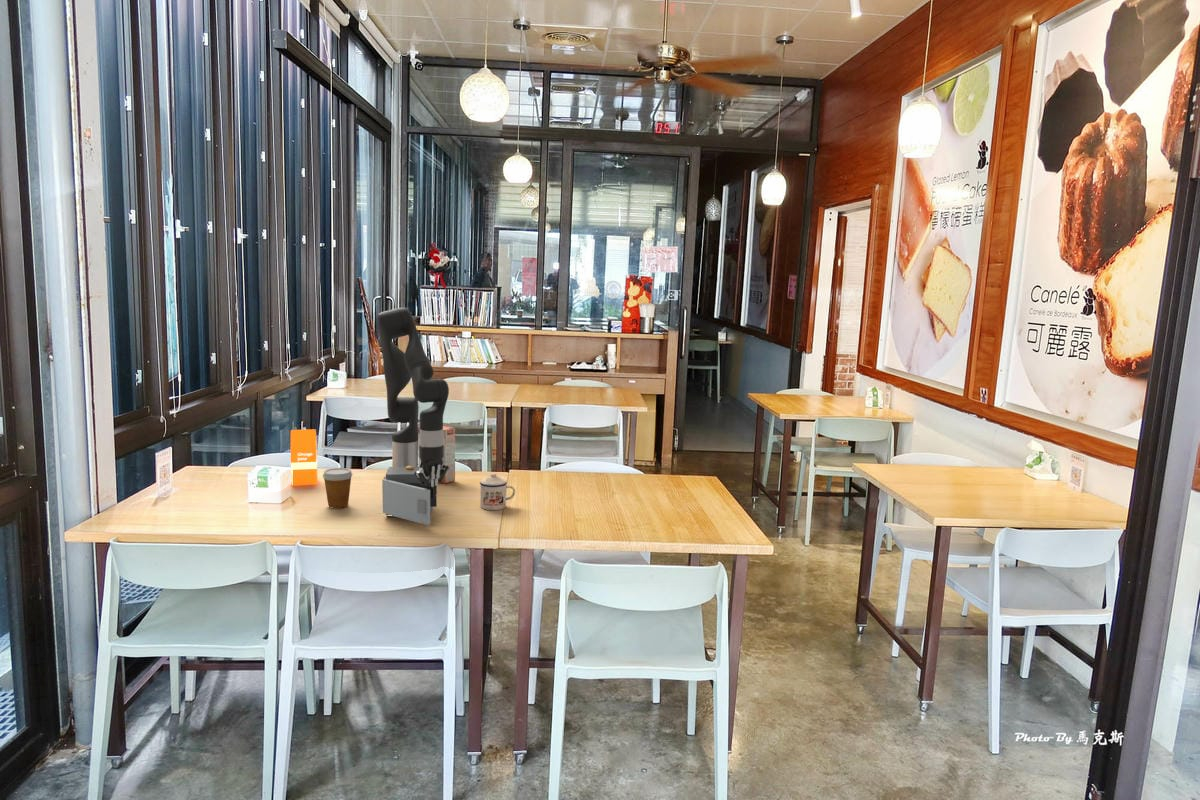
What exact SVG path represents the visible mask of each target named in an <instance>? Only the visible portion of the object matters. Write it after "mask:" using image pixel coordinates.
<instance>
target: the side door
mask: <svg viewBox="0 0 1200 800" xmlns="http://www.w3.org/2000/svg"><path fill="white" fill-rule="evenodd" d="M381 482H382V484H381V485H382V489H381V490H382V493H381V494H382V514H384V515H386V514H388V515H392V516H391V517H396V518H399V519H403V520H406V521H411V522H414V523H417V524H421V525H426V526H430V525H431V515H430V490H429V489H425V488H420V487H416V486H412V485H408V484H404V483H399V482H395V481H391V480H387V479H384V478H383V479H382V481H381Z"/></svg>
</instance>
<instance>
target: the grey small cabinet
mask: <svg viewBox="0 0 1200 800" xmlns="http://www.w3.org/2000/svg"><path fill="white" fill-rule="evenodd" d="M419 469H420V467H419V466H418V467H413V466H406V467H392V466H389V467H388V468H387V471H386V473H385V476H383V480H384V479H387V480H391V481H395V482H399V483H404V484H408V485H412V486H416V487H420V488H425V489H427V486H425V485H422V484H421V483H420V482H419V480H418V479H417V477H416V476H415V475H414V473H415V471H417V472H418V470H419ZM429 482H430V480H429ZM437 495H438V494H437ZM437 495H436V497H435V498H430V514H432V509H433V508H437V507H438V506H437V497H438V496H437ZM386 515H388V514H385V516H386Z"/></svg>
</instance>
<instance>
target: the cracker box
mask: <svg viewBox="0 0 1200 800" xmlns="http://www.w3.org/2000/svg"><path fill="white" fill-rule="evenodd" d="M419 432H420V425H418V440H419ZM443 433H444V458H443V459H442V460H443V464H444V465H448V470H447V472H446V474H445V476H444V478H443V480H442V482H441V483H440V484H448V483H452V482H454V481H456V428H455V427H451V426H446V425H445V426H444V425H443ZM420 464H421V459H420V458H419V457H418V467H420ZM440 476H441V475H440ZM440 476H439V478H440Z"/></svg>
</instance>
